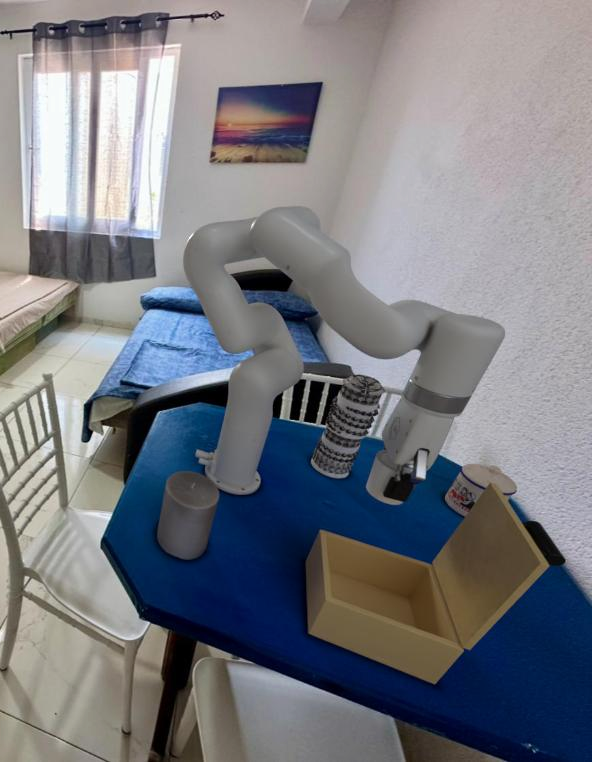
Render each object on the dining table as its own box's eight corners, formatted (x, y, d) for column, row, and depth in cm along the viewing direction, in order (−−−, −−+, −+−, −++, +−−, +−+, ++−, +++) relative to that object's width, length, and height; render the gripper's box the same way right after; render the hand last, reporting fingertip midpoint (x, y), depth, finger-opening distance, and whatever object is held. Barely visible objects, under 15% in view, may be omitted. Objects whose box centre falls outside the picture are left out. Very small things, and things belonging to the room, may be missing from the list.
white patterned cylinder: (359, 474, 100) (401, 385, 88) (332, 483, 97) (372, 392, 85) (326, 452, 107) (361, 367, 95) (301, 460, 104) (333, 373, 92)
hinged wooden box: (308, 633, 65) (325, 599, 61) (305, 561, 77) (320, 529, 73) (435, 684, 59) (464, 651, 55) (411, 598, 71) (433, 565, 67)
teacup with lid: (433, 491, 95) (457, 452, 89) (474, 495, 94) (500, 455, 89) (472, 532, 85) (501, 491, 79) (518, 536, 84) (551, 495, 78)
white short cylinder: (416, 510, 68) (434, 478, 65) (371, 504, 69) (387, 472, 66) (396, 482, 74) (412, 452, 71) (355, 477, 75) (369, 446, 72)
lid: (540, 563, 46) (599, 581, 45) (489, 482, 58) (534, 494, 57) (462, 647, 55) (509, 665, 53) (431, 562, 67) (469, 574, 65)
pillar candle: (189, 516, 86) (201, 461, 79) (216, 553, 78) (232, 496, 71) (148, 526, 83) (156, 470, 76) (171, 566, 75) (184, 508, 68)
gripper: (393, 368, 70) (357, 450, 79) (420, 418, 56) (372, 511, 65) (446, 377, 68) (402, 461, 76) (488, 432, 54) (429, 527, 62)
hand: (389, 483), depth 70 cm, fingers closed on white short cylinder, 6 cm apart
